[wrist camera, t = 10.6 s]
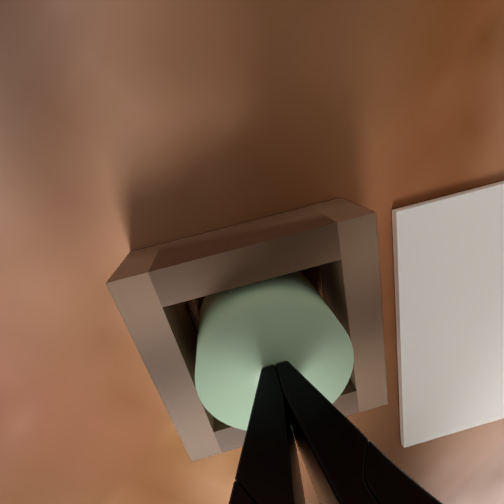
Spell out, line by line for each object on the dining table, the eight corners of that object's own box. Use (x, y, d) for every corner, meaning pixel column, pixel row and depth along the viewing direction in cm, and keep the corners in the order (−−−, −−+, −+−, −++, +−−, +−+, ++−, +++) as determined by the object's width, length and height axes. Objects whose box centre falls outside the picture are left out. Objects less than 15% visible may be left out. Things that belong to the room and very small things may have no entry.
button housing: (357, 359, 14) (387, 404, 11) (195, 405, 13) (191, 461, 11) (340, 197, 11) (376, 212, 8) (129, 252, 10) (105, 283, 8)
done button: (327, 349, 13) (359, 407, 10) (218, 380, 12) (219, 448, 10) (311, 247, 11) (346, 283, 8) (182, 281, 10) (171, 330, 8)
